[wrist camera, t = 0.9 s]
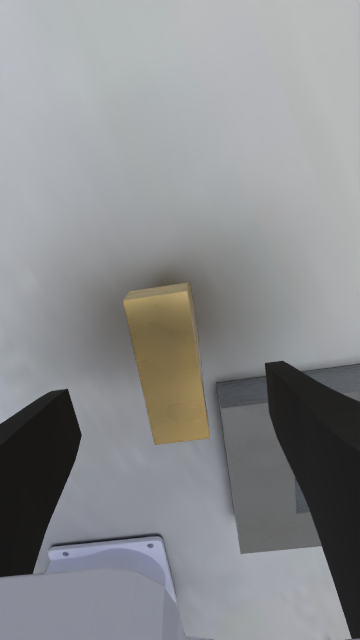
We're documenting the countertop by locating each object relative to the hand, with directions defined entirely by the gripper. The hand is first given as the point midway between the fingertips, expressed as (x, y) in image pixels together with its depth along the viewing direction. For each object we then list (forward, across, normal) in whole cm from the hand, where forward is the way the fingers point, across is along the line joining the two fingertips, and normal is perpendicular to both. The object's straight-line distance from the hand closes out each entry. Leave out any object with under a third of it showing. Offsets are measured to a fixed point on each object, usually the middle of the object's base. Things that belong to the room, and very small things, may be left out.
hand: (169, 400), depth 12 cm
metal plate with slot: (+9, -8, +11) cm, 17 cm away
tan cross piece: (+9, 0, 0) cm, 9 cm away
